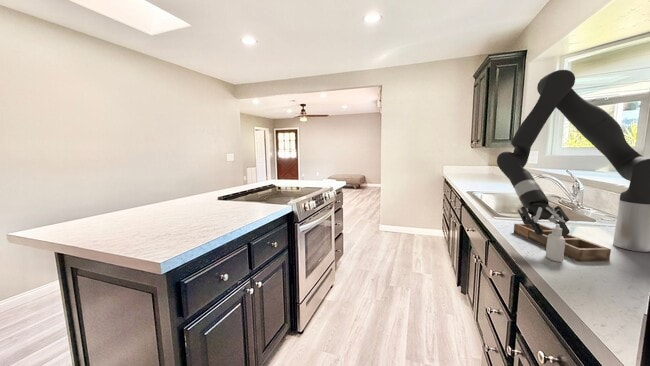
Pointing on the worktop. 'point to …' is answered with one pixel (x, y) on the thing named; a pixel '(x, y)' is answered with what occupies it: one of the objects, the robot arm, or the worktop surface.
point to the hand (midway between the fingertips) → (554, 234)
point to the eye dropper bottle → (555, 245)
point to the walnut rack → (567, 244)
